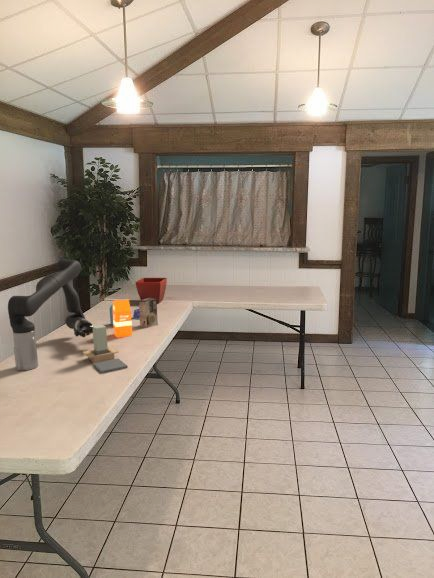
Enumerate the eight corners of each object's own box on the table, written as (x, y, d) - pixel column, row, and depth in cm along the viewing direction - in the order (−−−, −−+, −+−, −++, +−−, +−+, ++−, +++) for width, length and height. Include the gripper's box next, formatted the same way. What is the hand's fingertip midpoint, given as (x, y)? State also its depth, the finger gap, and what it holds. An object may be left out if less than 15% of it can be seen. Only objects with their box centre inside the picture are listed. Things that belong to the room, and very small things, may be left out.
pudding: (131, 315, 304) (130, 307, 303) (149, 315, 305) (149, 307, 304) (128, 320, 292) (128, 312, 291) (147, 319, 293) (147, 311, 292)
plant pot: (135, 304, 336) (134, 281, 333) (144, 298, 354) (143, 277, 351) (161, 304, 333) (160, 282, 330) (168, 299, 351) (167, 277, 348)
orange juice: (114, 333, 261) (111, 299, 257) (129, 332, 264) (127, 298, 260) (116, 337, 254) (114, 302, 250) (132, 335, 257) (130, 300, 253)
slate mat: (101, 373, 200) (101, 371, 200) (93, 365, 210) (93, 363, 210) (127, 367, 207) (127, 365, 206) (118, 360, 217) (118, 358, 216)
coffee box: (150, 323, 283) (149, 297, 280) (158, 324, 279) (157, 298, 276) (139, 326, 276) (138, 300, 273) (146, 327, 272) (145, 301, 269)
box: (97, 361, 216) (95, 328, 213) (94, 358, 220) (92, 326, 217) (108, 359, 219) (106, 326, 216) (104, 356, 223) (102, 324, 220)
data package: (131, 322, 285) (130, 303, 282) (130, 324, 280) (129, 305, 278) (111, 323, 283) (110, 304, 281) (110, 325, 279) (109, 306, 277)
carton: (89, 364, 212) (88, 357, 211) (83, 358, 220) (82, 351, 219) (119, 358, 219) (119, 351, 218) (112, 353, 227) (112, 346, 227)
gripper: (69, 322, 236) (78, 329, 223) (96, 318, 244) (106, 324, 230) (70, 336, 238) (79, 343, 224) (97, 331, 245) (107, 338, 231)
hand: (93, 334), depth 227 cm, fingers open, 8 cm apart
